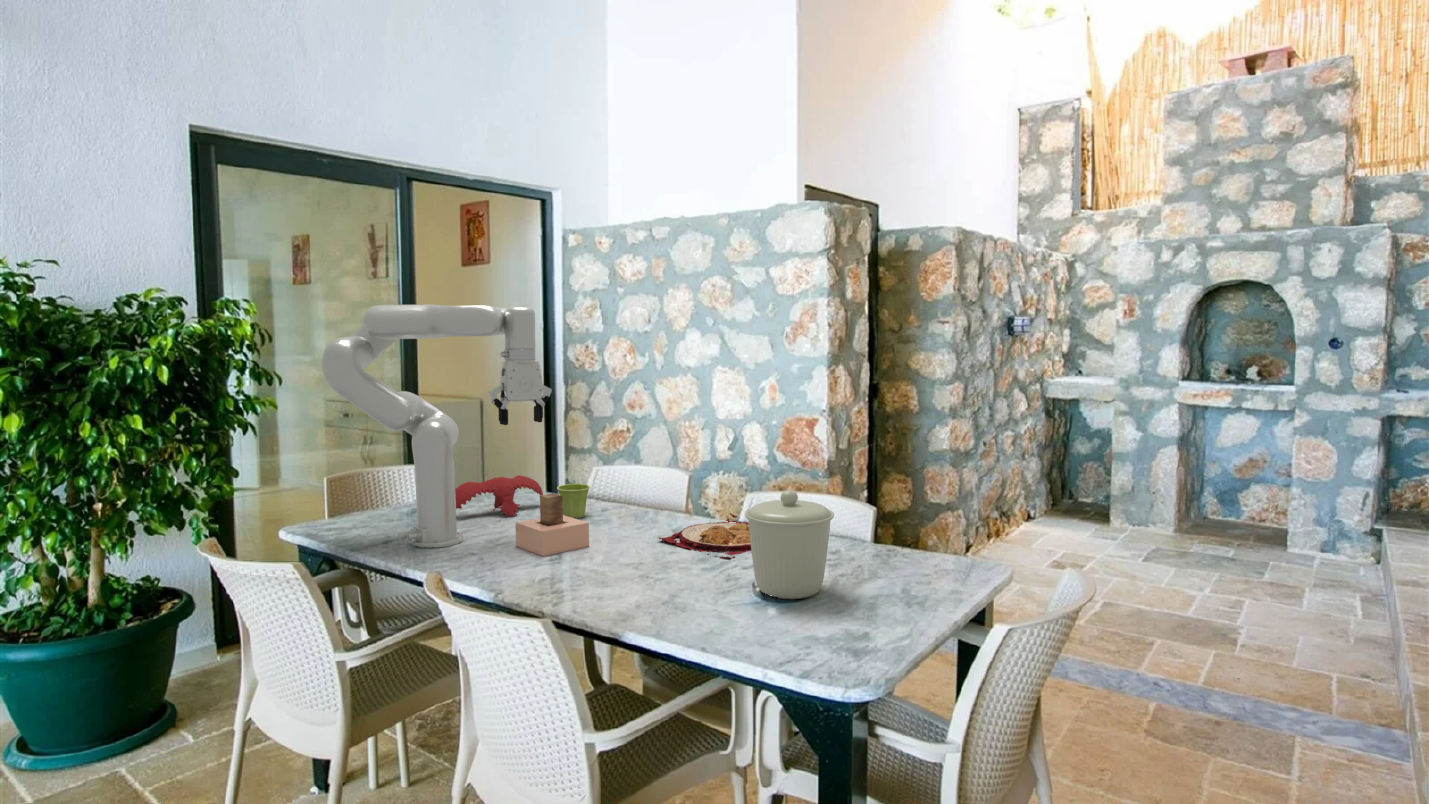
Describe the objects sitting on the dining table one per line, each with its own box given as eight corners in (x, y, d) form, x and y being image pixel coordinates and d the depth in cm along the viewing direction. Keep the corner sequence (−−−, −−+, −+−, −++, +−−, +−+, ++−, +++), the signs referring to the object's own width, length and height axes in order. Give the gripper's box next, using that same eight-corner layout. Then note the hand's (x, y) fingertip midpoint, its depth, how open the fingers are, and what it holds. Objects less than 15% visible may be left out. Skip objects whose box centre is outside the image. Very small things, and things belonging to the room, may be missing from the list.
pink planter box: (543, 556, 201) (542, 531, 200) (516, 546, 211) (515, 522, 210) (589, 546, 210) (588, 522, 209) (560, 536, 219) (560, 514, 219)
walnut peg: (549, 546, 207) (548, 497, 206) (541, 543, 210) (539, 495, 209) (563, 543, 210) (562, 495, 209) (554, 540, 213) (553, 493, 212)
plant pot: (597, 515, 244) (596, 485, 243) (575, 521, 236) (575, 491, 235) (572, 511, 249) (572, 482, 248) (550, 518, 241) (550, 488, 240)
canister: (762, 610, 162) (762, 502, 160) (733, 583, 179) (733, 485, 177) (848, 601, 167) (849, 496, 165) (812, 575, 184) (813, 480, 182)
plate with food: (656, 545, 214) (656, 531, 214) (728, 524, 233) (728, 511, 232) (727, 565, 197) (727, 550, 197) (798, 540, 216) (798, 527, 215)
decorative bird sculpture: (548, 521, 255) (531, 481, 262) (559, 504, 250) (541, 463, 256) (458, 537, 237) (443, 493, 244) (467, 519, 232) (451, 474, 238)
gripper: (495, 357, 205) (497, 427, 207) (557, 355, 217) (558, 422, 218) (481, 356, 211) (483, 424, 212) (542, 354, 222) (543, 419, 224)
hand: (521, 423), depth 215 cm, fingers open, 9 cm apart
